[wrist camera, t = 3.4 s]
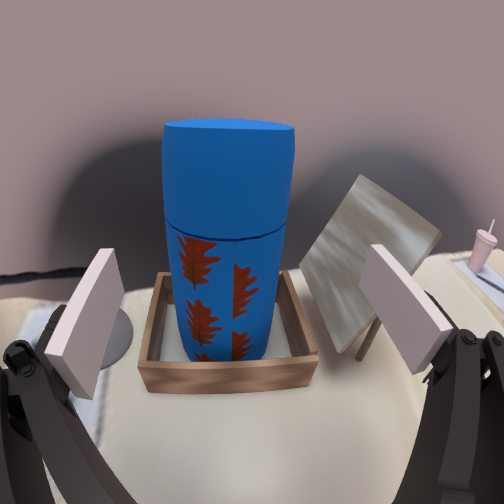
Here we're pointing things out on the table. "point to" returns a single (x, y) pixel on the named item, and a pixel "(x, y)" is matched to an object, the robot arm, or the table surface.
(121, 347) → the disc
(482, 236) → the smoothie
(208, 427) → the table surface
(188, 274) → the thermos
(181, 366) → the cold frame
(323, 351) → the table surface
